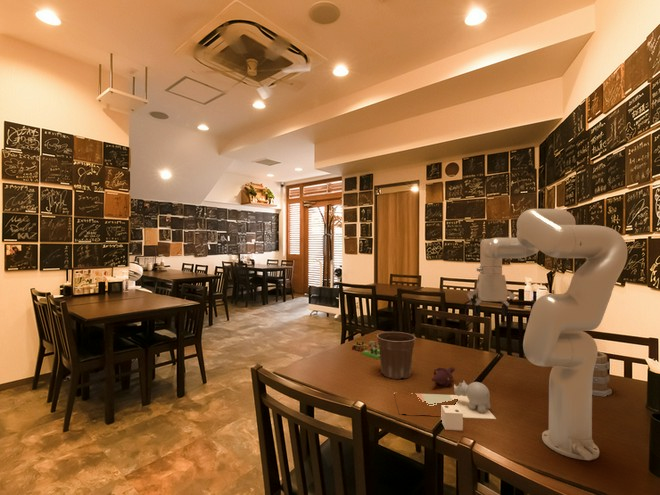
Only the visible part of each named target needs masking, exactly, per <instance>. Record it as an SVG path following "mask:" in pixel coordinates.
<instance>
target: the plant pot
mask: <svg viewBox="0 0 660 495" xmlns="http://www.w3.org/2000/svg"><path fill="white" fill-rule="evenodd" d="M376 338H377V345H379V346H378V347H379V349H380V358H379V359H380V371H381V372H380V373H381V375H383V376H384V377H385V378H388V379H394V380H401V379H402V378H403V379H405V380H406V379H408V378H410V376H411V372H412V364H413V363H412V362H413V361H412V360H413V351H414V347H415V340H416V338H417V337H416V335H413V334H411V333H408V332H400V331H385V332H384V331H383V332H379V333H377V334H376Z"/></svg>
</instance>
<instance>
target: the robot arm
mask: <svg viewBox="0 0 660 495" xmlns="http://www.w3.org/2000/svg"><path fill="white" fill-rule="evenodd" d="M575 218H576V217H575V216H573V214H572V213H571V212H569V211H567V210H565V209H561V208H530V209H527V210H525V211H523V212H522V213H521V214H520V215H519V216H518V218H517V220H516V237H492V238H484V239H482V240H480V246H479V247H480V248H479V249H480V251H479V252H480V253H479V254H480V256H479V257H480V259H479V260H480V265H479V267H476V272H479V274H477V275H478V276H477V280H476V288H475V289H473V290H471V291H469V292H467V293H466V296H467V297H468V299H469V301H470V302H471V303H472V304H473V305H474V314H475V315H476V316H477V317H480V316H481V306H480V304H481V303H482V302H501V303H502V304H501V315H502V316H503V317H505V318H506V317H508V314H509V307H510V305H511V303H513V302H514V300H515V298H516V294H515V293H514V292H511V291H509V290H508V288H507V280H506V275H505V274H503V259H523V258H527V257H530V256H533V255H535V254H537V253H539V251H540V252H541V253H543V254H544V255H545V256H548V257H551V258H556V259H586V261H585V262H584V263H583V264H581V266H579V267H578V268H577V269H576V271H575V272H574V274H573V275H572V277H571V280H570V283H569V286H568V289H567V291H565V292H563V293H550V294H545V295H543V296H540V297H539V298H537V299H536V300H535V302H534V303H533V304H532V306H531V307H532V308H531V310H530V315H529V318H528V321H527V324H526V327H525V328H526V329H525V332H524V335H523V340H522V341H523V342H522V347H523V348H522V349H523V354H524V356H525V357H526V359H527V361H528V362H530V363H531V364H533V365H535V366H539V367H552V368H551V370H550V373H549V378H548V429H547V430H544V431H543V432H542V433H541V439H542V442H543V443H544V444H545V445H546V446H547V447H548V448H549V449H551V451H554V452H556V453H557V454H560V455H562V456H565V457H568V458H572V459H576V460H582V461H592V460H596V459H598V458H599V456H600V449H599V447H598V445H596V444H595V442H594V440H593V429H592V428H593V419H592V418H593V396H592V382H593V372H594V367H595V363H596V360H597V353H598V352H599V350H598V345H597V343H596V341H595V338H593V337H592V336H591V335H590V334H588V333H587V332H588V331H593V330H595V329H597V328H598V327H599V326H601V323H602V322H603V319H604V315H605V313H606V310H607V307H608V304H609V302H610V299H611V297H612V294H613V290H614V288H615V285H616V283H617V281H618V279H619V277H620V276H621V273H622V272H623V270H624V268H625V265H626V263H627V260H628V246H627V243H626V241H625V240H626V239H624V237H623V236H622V235H621V234H620V233H619V232H618V231H617V230H615V229H614V228H611V227H608V226H604V225H603V226H602V225H596V224H576V219H575ZM474 295H476V298H474ZM508 296H509V297H508Z"/></svg>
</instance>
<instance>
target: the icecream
mask: <svg viewBox="0 0 660 495" xmlns="http://www.w3.org/2000/svg"><path fill="white" fill-rule="evenodd" d="M455 371H456V369H455V367H454V366H453V367H449V368H448V369H447V368H446V367H438V368H435V369H434V372H433V377H432V378H431V381H432V382H435V383H437V384H438V386H441V387H447V386H449V385H450V384H451V382H452V381H453V379H454V377H453V373H454V372H455Z"/></svg>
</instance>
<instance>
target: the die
mask: <svg viewBox="0 0 660 495" xmlns="http://www.w3.org/2000/svg"><path fill="white" fill-rule="evenodd" d="M441 420H442V422H441V424H442V425H443V428H444V429H445V430H446V431H447V430H449V431H464V430H463V429H464V419H463V413H462V411H461V410H460V408H459V407H458V405H441V417H440V421H441Z"/></svg>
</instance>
